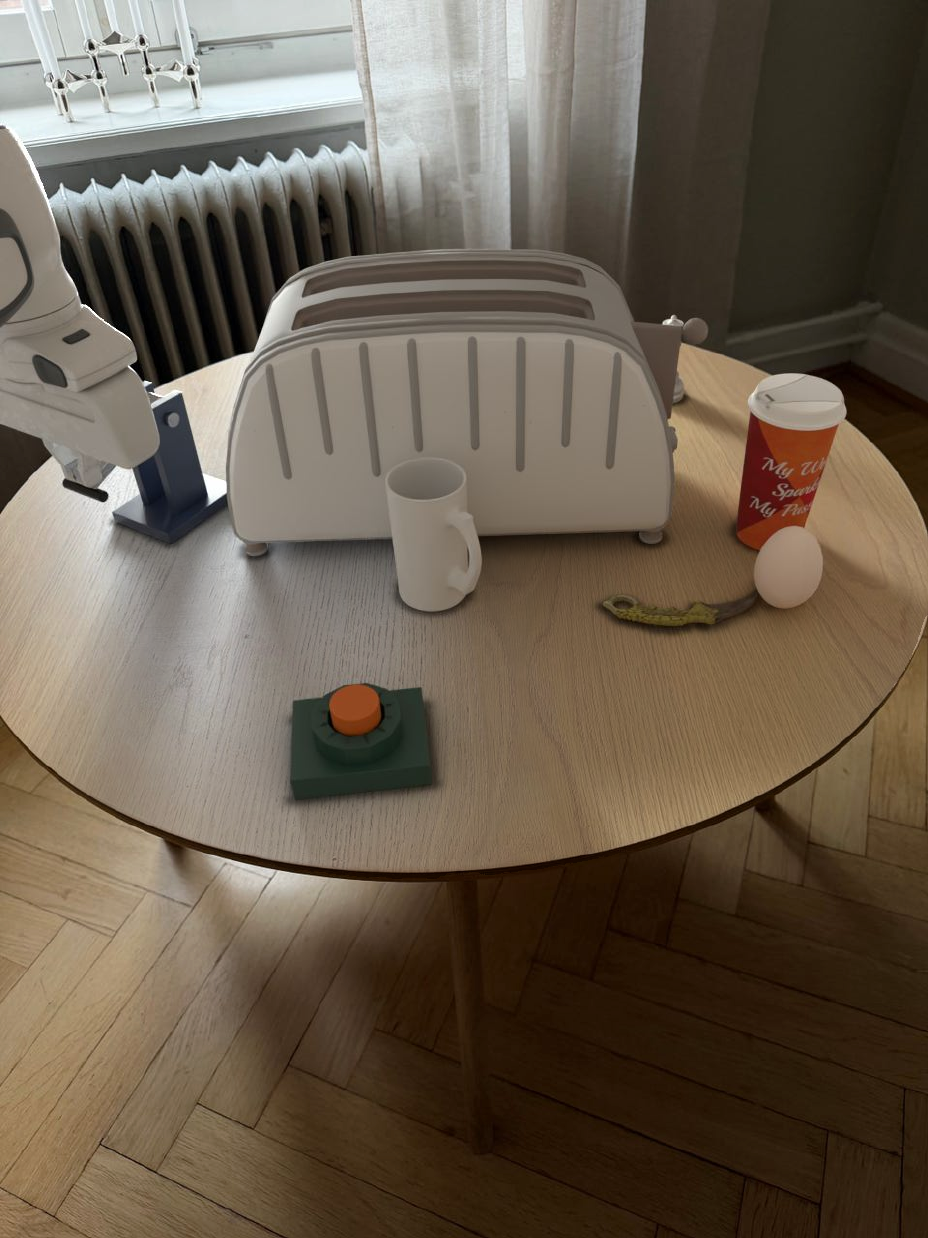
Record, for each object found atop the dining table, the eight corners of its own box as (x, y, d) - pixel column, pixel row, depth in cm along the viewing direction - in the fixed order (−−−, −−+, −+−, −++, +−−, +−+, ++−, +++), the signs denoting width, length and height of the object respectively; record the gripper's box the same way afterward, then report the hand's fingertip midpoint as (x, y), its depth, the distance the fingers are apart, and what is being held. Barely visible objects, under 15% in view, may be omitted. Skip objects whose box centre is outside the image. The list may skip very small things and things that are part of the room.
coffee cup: (750, 566, 85) (781, 421, 75) (709, 518, 91) (733, 378, 81) (830, 550, 87) (871, 405, 77) (785, 503, 93) (817, 364, 83)
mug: (381, 588, 85) (368, 476, 77) (438, 558, 88) (432, 448, 80) (450, 643, 79) (444, 528, 71) (509, 609, 82) (509, 495, 74)
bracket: (171, 544, 91) (136, 428, 83) (114, 521, 94) (76, 408, 86) (239, 494, 97) (214, 383, 89) (184, 475, 101) (154, 366, 92)
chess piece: (689, 393, 111) (701, 313, 104) (671, 408, 108) (681, 326, 102) (657, 384, 113) (666, 304, 106) (639, 398, 110) (647, 317, 104)
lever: (107, 509, 85) (93, 492, 83) (70, 494, 87) (55, 478, 85) (184, 417, 89) (173, 399, 87) (147, 405, 91) (135, 387, 89)
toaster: (705, 552, 87) (745, 323, 72) (233, 567, 88) (178, 343, 73) (666, 438, 103) (692, 232, 89) (268, 451, 104) (228, 248, 89)
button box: (294, 800, 66) (285, 764, 64) (296, 719, 72) (288, 683, 70) (432, 784, 67) (429, 748, 64) (423, 706, 73) (420, 669, 71)
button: (332, 739, 66) (329, 722, 65) (331, 703, 69) (329, 686, 68) (382, 734, 66) (380, 717, 65) (380, 698, 69) (377, 681, 68)
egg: (801, 582, 83) (820, 509, 78) (820, 622, 79) (842, 547, 74) (740, 584, 83) (756, 512, 78) (756, 624, 79) (774, 550, 74)
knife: (759, 577, 82) (780, 610, 78) (757, 586, 83) (778, 618, 79) (600, 593, 82) (614, 627, 78) (600, 601, 82) (613, 635, 78)
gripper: (-79, 327, 77) (-16, 468, 86) (86, 378, 69) (136, 529, 78) (-15, 300, 81) (38, 438, 90) (148, 345, 73) (189, 492, 82)
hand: (85, 480), depth 84 cm, fingers closed, pressing on lever
